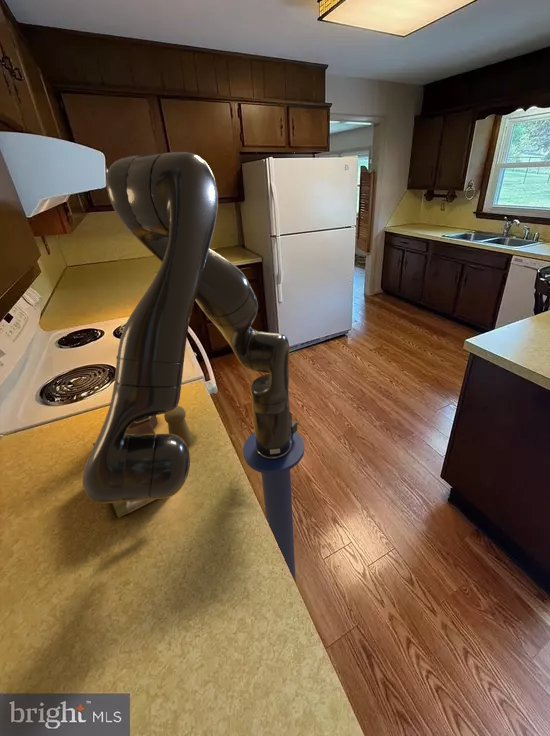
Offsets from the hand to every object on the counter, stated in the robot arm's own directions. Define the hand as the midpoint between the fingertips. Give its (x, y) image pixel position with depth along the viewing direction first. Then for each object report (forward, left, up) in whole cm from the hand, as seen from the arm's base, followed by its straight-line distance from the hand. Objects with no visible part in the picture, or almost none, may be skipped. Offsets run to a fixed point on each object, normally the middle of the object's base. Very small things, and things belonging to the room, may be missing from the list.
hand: (139, 478), depth 65 cm
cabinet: (-4, -12, -12) cm, 17 cm away
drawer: (-3, -7, -11) cm, 13 cm away
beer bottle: (-16, -28, -12) cm, 34 cm away
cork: (-18, -13, -12) cm, 25 cm away
